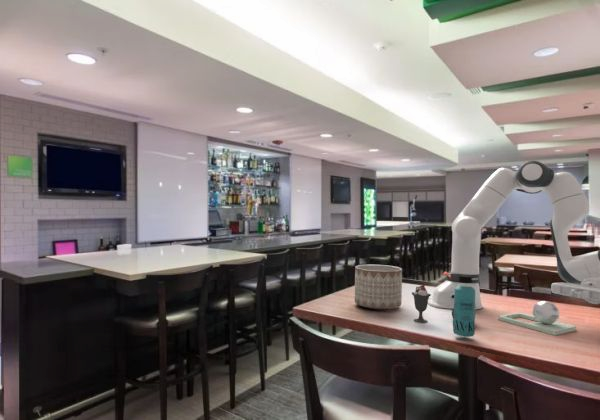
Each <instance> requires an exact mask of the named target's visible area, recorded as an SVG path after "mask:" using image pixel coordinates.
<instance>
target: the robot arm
mask: <svg viewBox="0 0 600 420" xmlns="http://www.w3.org/2000/svg"><path fill="white" fill-rule="evenodd" d="M514 191H517V192H521V193H525V194H531V195H532V194H539V193H541V192H544V193H545V194H546V195H547V196H548V198H549V200H550V203H551V205H552V209H553V214H552V215H553V216H552V218H551V220H550V221H549V226H550V227H549V228H550V229H549V230H550V234H551V239H552V243H553V248H554V253H555V259H556V269H557V274H558V276H559V277H560V279H561V280H563V281H564V282H552V283H551V285H550V286H551V287H550V289H551V293H552V294H556V295H561V296H567V297H572V298H577V299H583V300H584V301H586V302H587V303H589V304H593V305H600V250H595V251H591V252H587V253H584V254H580V255H575V256H573V255H572V252H571V247H570V241H569V237H568V236H569V232H570V231H571V230H572V229H573V227H575V226H576V225H577V224H578V223H580V222H581V221H582V220H583V219H585V217H586V216H587V215H588V212H589V209H590V205H589V204H590V203H589V201H588V198H587V196H586V194H585V192H584V190H583V188H582V186H581V185H580V183H579V182H578V180H577V178H575V176H574V175H573V174H572V173H570V172H568V171H560V172H555V171H554V170H553V169H551V168H550V167H548V166H547V165H545V164H544V163H543V162H540V161H538V160H537V161H536V160H528V161H525V162H524V163H522V164H521V165H520V166H519V167H518V169H517V170H512V169H511V168H507V167H500V168H497V170H495V171H494V172H493V173H492V174H491V175H490V176H489V177H488V178H487V179H486V180H485V182H484V183H482V185H481V186H480V188H479V189H478V190H477V192H476V193H475V194H474V196H473V197H472V198H471V199H470V201H469V202H468V203H467V204H466V205H465V207H464V208H462V210H461V212H460V213H459V214H458V215H457V216H456V217H455V219H454V220H453V222H452V225H451V231H452V241H451V242H452V243H451V270H450V271H449V272H447V271H444V272H443V276H444V277H446V280H445V281H444V282H442V283H441V284H438V285H437V286H436V287H434V289H433V291H432V295H431V296H432V297H429V299H428V304H427V305H429V306H431V307H434V308H437V309H438V308H439V309H451V310H453V308H454V307H453V306H454V288H455V287H457V286H458V285H466V286H471V287H473V288H474V289H475V291H476V292H475V305H476V306H475V311H476V310H479V309H482V308H483V303H482V297H481V293H480V292H481V291H480V287H481V274H480V253H481V252H480V251H481V238H482V228H483V227H484V226H485V225H486V224H487V223H488V222H489V221H490V220H491V219H492V217H494V216H495V215H496V213H497V212H498V210H499V209H500V208H501V207H502V206H503V204H504V203H505V202H506V200H507V199H508V198H509V197H510V195H511V194H512V193H513V192H514ZM459 275H468V276H472V283H461V282H458V278H459Z"/></svg>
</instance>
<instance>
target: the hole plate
mask: <svg viewBox="0 0 600 420" xmlns="http://www.w3.org/2000/svg"><path fill="white" fill-rule="evenodd" d="M515 318H522V319H526V320H531V321H534V322H531V323H529V322H526V321H522V320H519V319H515ZM497 319H498V321H502V322H506V323H510V324H513V325H516V326H520V327H524V328H527V329H531V330H534V331H538V332H542V333H544V334H547V335H552V336H558V335H563V334H566V333H572V332H575V331H577V326H575V325H571V324H567V323H563V322H559V321H556V322H555V323H552V324H543V323H541V322H539V321H538V320H536V319H535V317H534V315H531V314H526V313H523V312H514V313H508V314H503V315H498V316H497Z"/></svg>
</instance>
